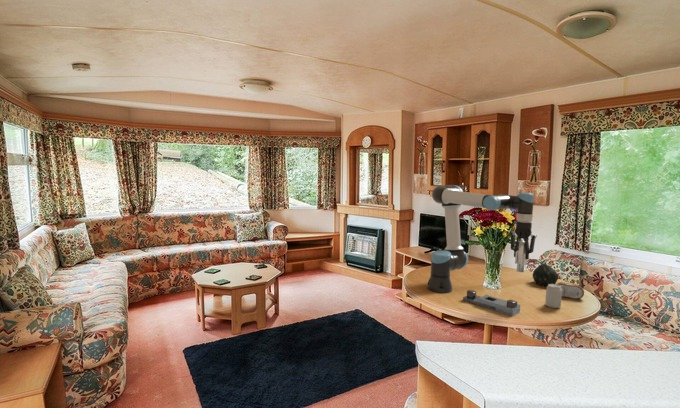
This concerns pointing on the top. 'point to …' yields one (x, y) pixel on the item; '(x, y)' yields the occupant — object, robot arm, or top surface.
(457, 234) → the robot arm
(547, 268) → the squash
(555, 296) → the can
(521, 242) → the steel pin
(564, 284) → the tin
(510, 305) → the plate with dome knobs
